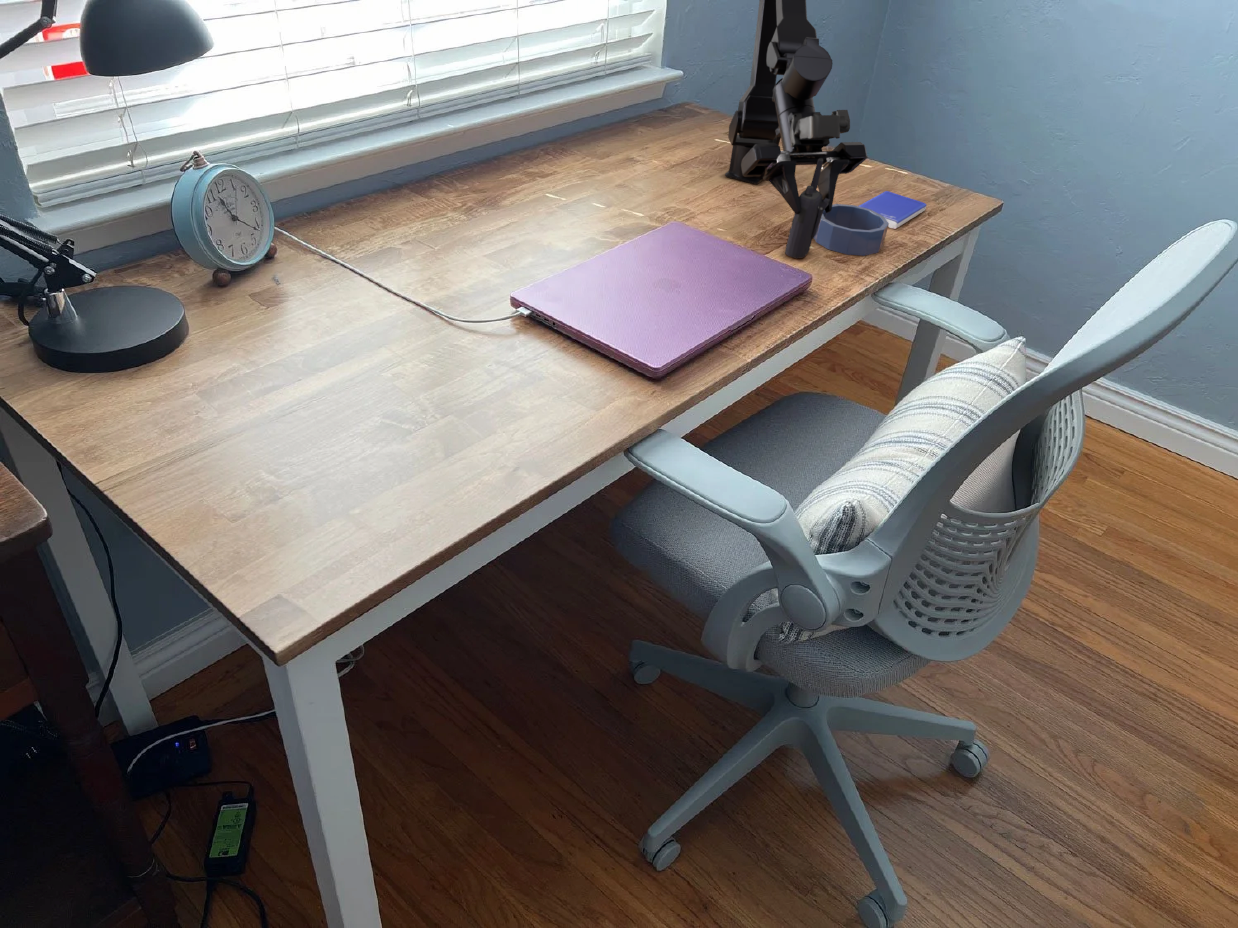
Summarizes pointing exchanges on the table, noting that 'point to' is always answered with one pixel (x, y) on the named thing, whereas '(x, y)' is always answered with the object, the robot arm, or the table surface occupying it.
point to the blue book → (895, 208)
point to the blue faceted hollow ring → (852, 230)
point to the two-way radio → (806, 218)
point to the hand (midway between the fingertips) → (813, 212)
